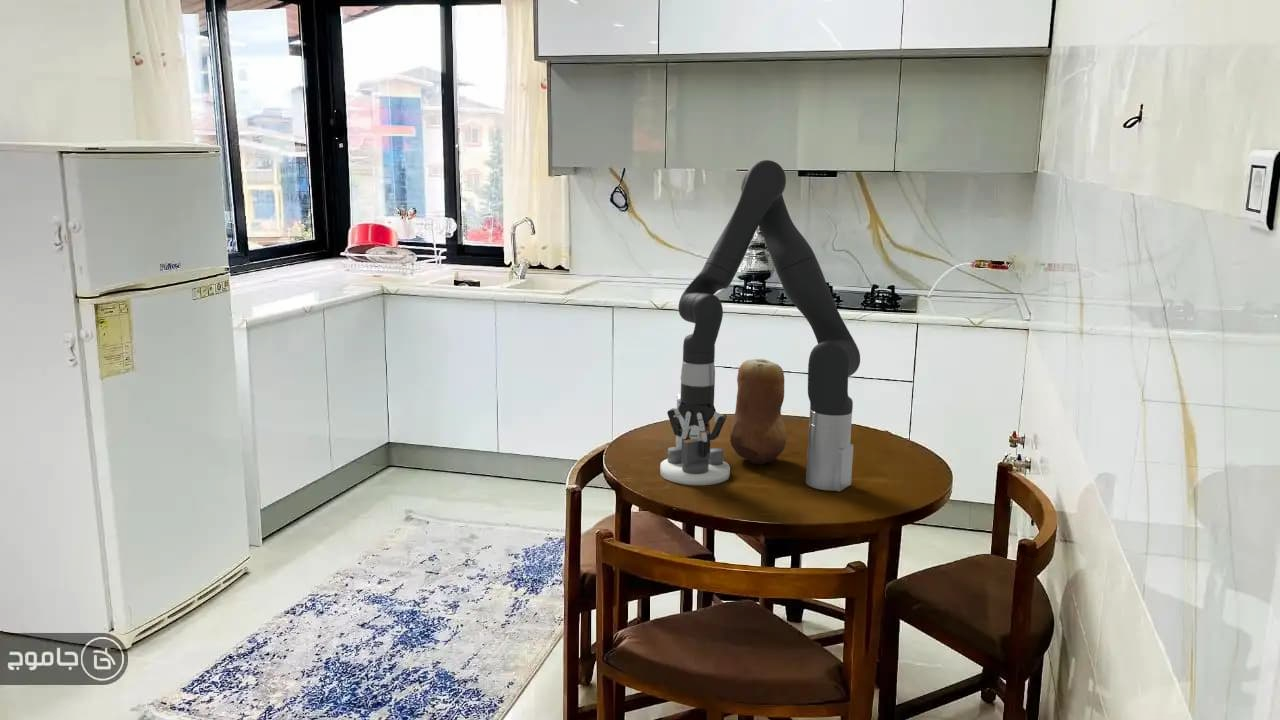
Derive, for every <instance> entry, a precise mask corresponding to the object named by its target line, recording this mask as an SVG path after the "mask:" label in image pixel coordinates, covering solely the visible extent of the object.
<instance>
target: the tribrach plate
mask: <svg viewBox="0 0 1280 720" xmlns="http://www.w3.org/2000/svg"><path fill="white" fill-rule="evenodd" d="M708 461H709V467H708V472H706V473H702V474H691V473H686V472H684V471H683V470H682V463H681V448H680V447H676V446H672V447H668V448H667V458H666V459H664V460H662V461H661V462H660V470H659V471H660V472H659V474H660V476H661V478H663V479H664V480H666V481H669V482H672V483H676V484H680V485H689V486H707V485H708V486H711V485H717V484H720V483H721V484H722V483H723V482H726V481H727V480H729V478H730V473H731V467H730V465H729V463H728V462H726V461H724V449H722V448H717V447H715V448H714V447H713V448H712V447H710V460H708Z"/></svg>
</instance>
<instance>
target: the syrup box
mask: <svg viewBox="0 0 1280 720" xmlns="http://www.w3.org/2000/svg"><path fill="white" fill-rule="evenodd" d="M680 403H681V393H677V394H676V405H675V407H676V408H678V407H679V405H680ZM678 418H679V421H680V424H681V427H682V430H683V425H684V421H685V420H684V419H683V417H682V415H681V414H680V412H679V417H678ZM689 437H690V438H691V439H696V438H700V428H699V427H698V426H696V425H693V426H692V428H691V432H690V436H689ZM675 447H680V448H681V447H682V438H681V437H680V436H678V435H677V436H676V435H675Z"/></svg>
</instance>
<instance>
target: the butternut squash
mask: <svg viewBox="0 0 1280 720" xmlns="http://www.w3.org/2000/svg"><path fill="white" fill-rule="evenodd" d="M736 377H737V378H736V383H737V391H736V392H737V393H736V403H735V412H734V415H733V418H732V421H731V423H730V427H729V442H730V444H731V447H732V449H733V451H734V452H735V453H736V454H737V456H739V457H741V458H743V459H746V460H747V461H749V462H751V463H752V464H757V465H758V464H759V465H761V466H762V465H764V464H766V463H771V462H773V461H775V460H777V458H778V457H779V456H780V455H781V454H782V453H783V452H784V449H785V447H786V444H787V432H786V431H787V429H786V426H785V422H784V420H783V417H782V405H783V403H784V400H785V399H784V398H785V374H784V369H783V368H782V367H781V365H779V364H778V363H776V362H772V361H770V360H767V359H764V358H755V359H754V358H753V359H747V360H744V361H743V362H742V363H741V365H740V366H739V368H738V371H737V376H736Z"/></svg>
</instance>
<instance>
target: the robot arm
mask: <svg viewBox="0 0 1280 720" xmlns="http://www.w3.org/2000/svg"><path fill="white" fill-rule="evenodd" d="M786 184H787V177H786V173H785V171H784V169H783V167H782V166H781V165H780V164H778V162H776V161H774V160H769V159H765V160H764V159H763V160H760V161H757V162H755V163H754V164H753V165H751V166H750V167H749V168H748V169H747V171H746V173H745V174H744V177H743V179H742V182H741V187H740V188H741V195H740V197H739V200H738V202H737V204H736V206H735V209H734V211H733V213H732V215H731V217H730V219H729V220H728V223H727V224H726V226H725V228H724V229H723V231H722V233H721V234H720V236H719V238H718V239H717V241H716V243H715V244H714V246H713V248H712V250H711V252H710V254H709V256H708V257H707V260H706V262H705V264H704V266H703V268H702V270H701V271H700V272H699V273H698V274H697V275H696V276H695V277H694V278H693V280H692V281H691V282H690V284H689V285H688V286H687V287H686V288H685V290H684V291H683V293H682V294H681V296H680V299H679V302H678V313H679V316H680V317H681V319H683V320H684V321H686V322H689V323H692V324H694V328H693V333H691V334H688V335H686V336H685V337H684V339H683V345H682V347H683V348H682V365H681V374H680V394H681V403H680V405H679V407H678V408H674V407H673V408H670V409H669V410H668V411H667V417H668V420H669V422H670V425H671V428H672V431H673V434H674V435H675V437H676V436H677V435H678V436H680V437H681V438H682V441H684V440H688V439H689V440H691V438H690V437H689V436H690V432H691V428H692V426H693V425H696V426H698V427H699V428H700V429H699V433H700V434H701V435H700V436H701V437H702V440H703V441H702V444H701V457H704V458H705V457H706V456H707V455H708V454H709V452H710V449H711V441H714V440H716V439H718V437H719V435H720V432H721V431H722V429H723V426H724V424H725V422H726V420H727V415H726V414H725V413H722V414H721V413H719V412H717V410H716V407H715V405H714V404H715V387H716V386H715V383H716V382H715V381H716V368H715V357H716V356H715V355H716V346H715V345H716V342H717V338H718V336H719V332H720V330H721V329H720V328H721V325H722V321H723V317H724V316H723V315H724V310H723V309H724V308H723V304H722V302H721V300H720V298H719V297H718V296H717V295H715V294H716V293H717V292H718V291H721V290H725V289H727V288H729V286H730V285H731V284H732V282H733V280H734V278H735V276H736V274H737V272H738V270H739V268H740V266H741V264H742V262H743V260H744V258H745V255H746V253H747V251H748V248H749V247H750V245H751V242H752V241H753V238H754V235H755V233H756V231H757V229H758V228H759V230H760V231H761V233H762V236H763V238H764V242H765V244H766V248H767V251H768V253H769V256H770V258H771V261H772V264H773V266H774V268H775V272H776V274H777V276H778V279H779V281H780V284H781V286H782V288H783V290H784V292H785V294H786V295H787V297H788V299H789V300H790V301H791V302H792V304H793V305H794V306H795V307H796V309H797V310H798V311H799V312H800V313H801V314H802V315H803V317H804V318H805V319H806V321H807V322H808V324H809V326H810V327H811V329H812V332H813V334H814V337H815V339H816V341H817V342H816V343H817V344H816V345H815V346H814V347H813V349H812V350H811V351H810V354H809V356H808V357H809V358H808V364H807V365H808V366H807V396H808V399H809V403H810V404H809V420H808V421H809V422H808V423H809V424H808V425H809V426H808V441H807V457H806V473H805V475H806V476H805V483H806V485H807V486H809V488H810V487H811V488H813V489H816V490H821V491H836V492H841V491H843V490H844V489H846V488H848V487H850V486H851V484H852V475H853V462H854V461H853V460H854V444H852V443H851V434H852V421H853V418H852V417H853V409H854V404H853V399H852V398H851V397H850V396H849V392H848V391H849V389H848V387H849V377H850V376H852V375H854V374H855V373H856V372H857V370H858V369H859V367H860V364H861V354H860V350H859V347H858V345H857V343H856V342H855V339H854V338H853V336H852V334H851V333H850V331H849V329H848V327H847V325H846V323H845V321H844V320H843V318H842V316H841V314H840V312H839V310H838V308H837V306H836V302H835V299H834V297H833V296H832V293H831V290H830V288H829V285H828V284H827V281H826V278H825V275H824V273H823V271H822V269H821V266H820V264H819V263H820V262H819V261H818V259H817V257H816V253H815V252H814V250H813V249H812V246H811V245H810V244H809V242H808V241H807V240H806V239H805V237H804V236H803V235H802V233H801V232H800V231H799V230H798V228H797V227H796V225H795V224H794V222H793V220H792V218H791V216H790V214H789V211H788V207H787V206H786V203H785V200H784V196H783V193H784V191H785V188H786ZM679 412H680V414H681V415H682V417H683V419H684V420H685V421H684V425H683V430H682V427H681V424H680V421H679V418H678V417H679ZM712 418H714V423H715V424H714V427H713V429H712V431H710V428H711V426H710V421H711V420H712Z"/></svg>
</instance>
